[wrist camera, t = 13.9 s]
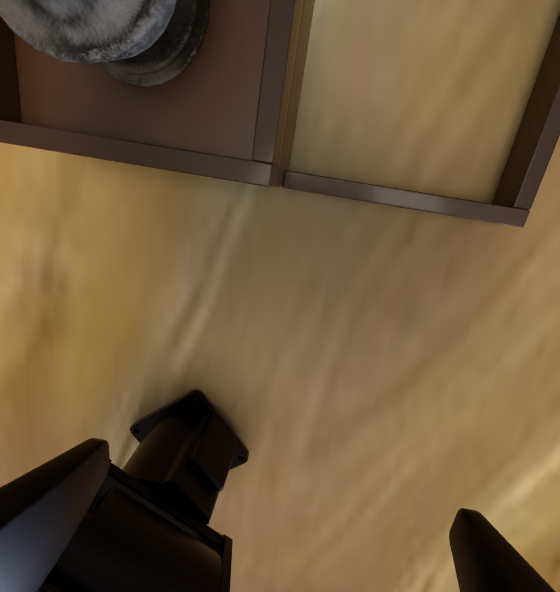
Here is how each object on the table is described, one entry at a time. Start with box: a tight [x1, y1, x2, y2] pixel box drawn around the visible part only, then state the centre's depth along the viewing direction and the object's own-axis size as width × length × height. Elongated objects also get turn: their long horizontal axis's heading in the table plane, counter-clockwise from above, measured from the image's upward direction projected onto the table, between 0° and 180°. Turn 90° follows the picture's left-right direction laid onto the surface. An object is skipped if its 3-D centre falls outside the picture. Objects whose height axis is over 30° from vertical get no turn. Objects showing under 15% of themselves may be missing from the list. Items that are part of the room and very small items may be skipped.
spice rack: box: [0, 0, 560, 227], centre depth 13 cm, size 23×11×6 cm, turn 82°
